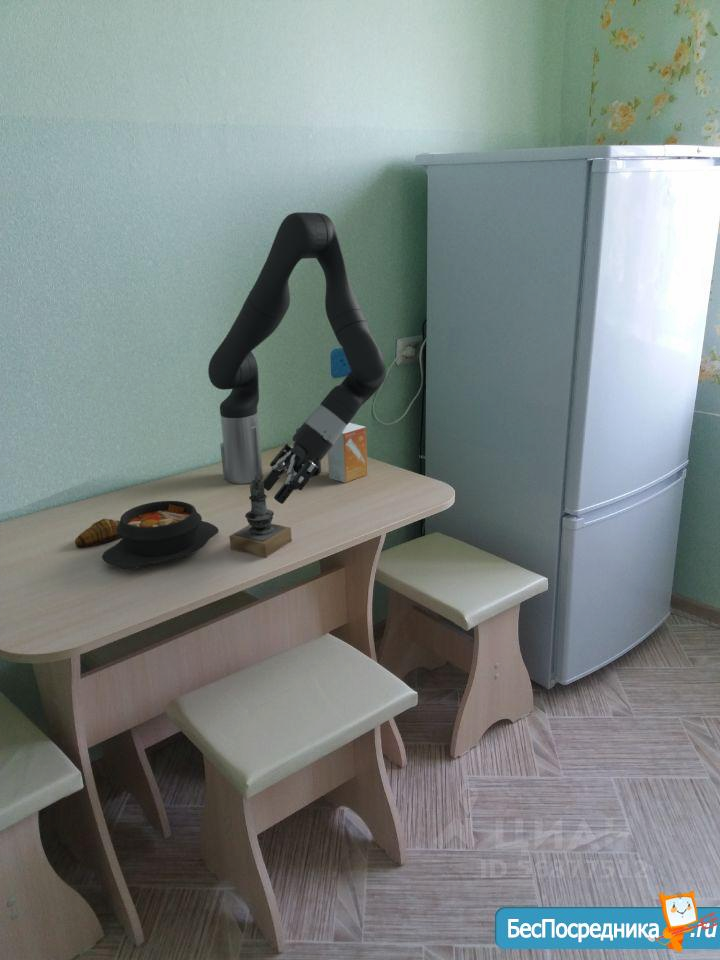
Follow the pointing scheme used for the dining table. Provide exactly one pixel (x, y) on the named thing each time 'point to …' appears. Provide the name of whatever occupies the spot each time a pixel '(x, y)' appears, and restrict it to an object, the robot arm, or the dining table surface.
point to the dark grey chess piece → (259, 510)
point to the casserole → (158, 534)
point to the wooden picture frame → (260, 540)
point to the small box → (349, 454)
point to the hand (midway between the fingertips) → (270, 494)
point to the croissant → (98, 533)
